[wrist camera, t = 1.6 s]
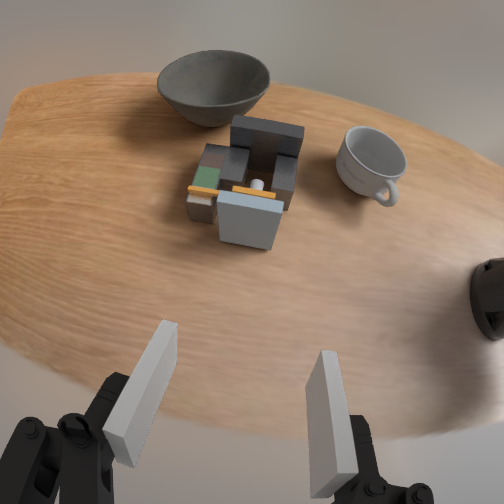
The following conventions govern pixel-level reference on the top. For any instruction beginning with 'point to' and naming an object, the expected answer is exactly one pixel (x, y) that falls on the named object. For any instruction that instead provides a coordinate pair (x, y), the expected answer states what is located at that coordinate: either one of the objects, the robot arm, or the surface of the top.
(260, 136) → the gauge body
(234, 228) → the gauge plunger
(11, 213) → the top surface
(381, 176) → the teacup
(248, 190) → the orange bar
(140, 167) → the top surface
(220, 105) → the bowl
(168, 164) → the top surface
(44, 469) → the robot arm
